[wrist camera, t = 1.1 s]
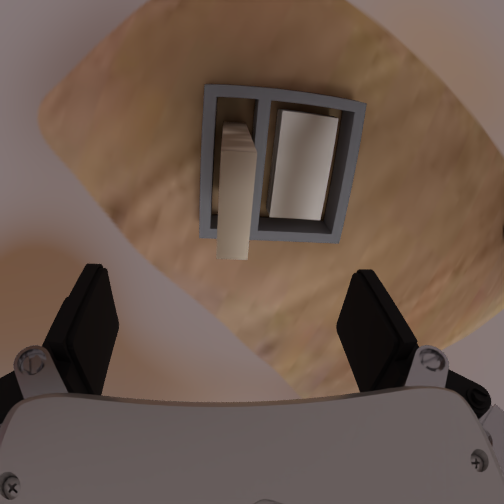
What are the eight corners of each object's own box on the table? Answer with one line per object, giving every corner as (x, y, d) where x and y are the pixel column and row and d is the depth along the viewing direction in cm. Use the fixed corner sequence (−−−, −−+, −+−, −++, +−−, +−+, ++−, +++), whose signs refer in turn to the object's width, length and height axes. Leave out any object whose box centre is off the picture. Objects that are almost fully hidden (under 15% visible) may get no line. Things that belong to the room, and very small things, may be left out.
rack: (354, 100, 26) (366, 103, 24) (330, 229, 34) (338, 243, 31) (207, 83, 25) (204, 84, 22) (201, 223, 32) (199, 238, 30)
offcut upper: (333, 116, 27) (338, 118, 25) (316, 213, 32) (320, 220, 30) (279, 108, 26) (282, 110, 25) (267, 210, 31) (269, 217, 30)
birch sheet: (245, 122, 27) (257, 152, 17) (240, 193, 31) (247, 259, 21) (223, 121, 27) (220, 150, 17) (219, 192, 31) (216, 258, 20)
